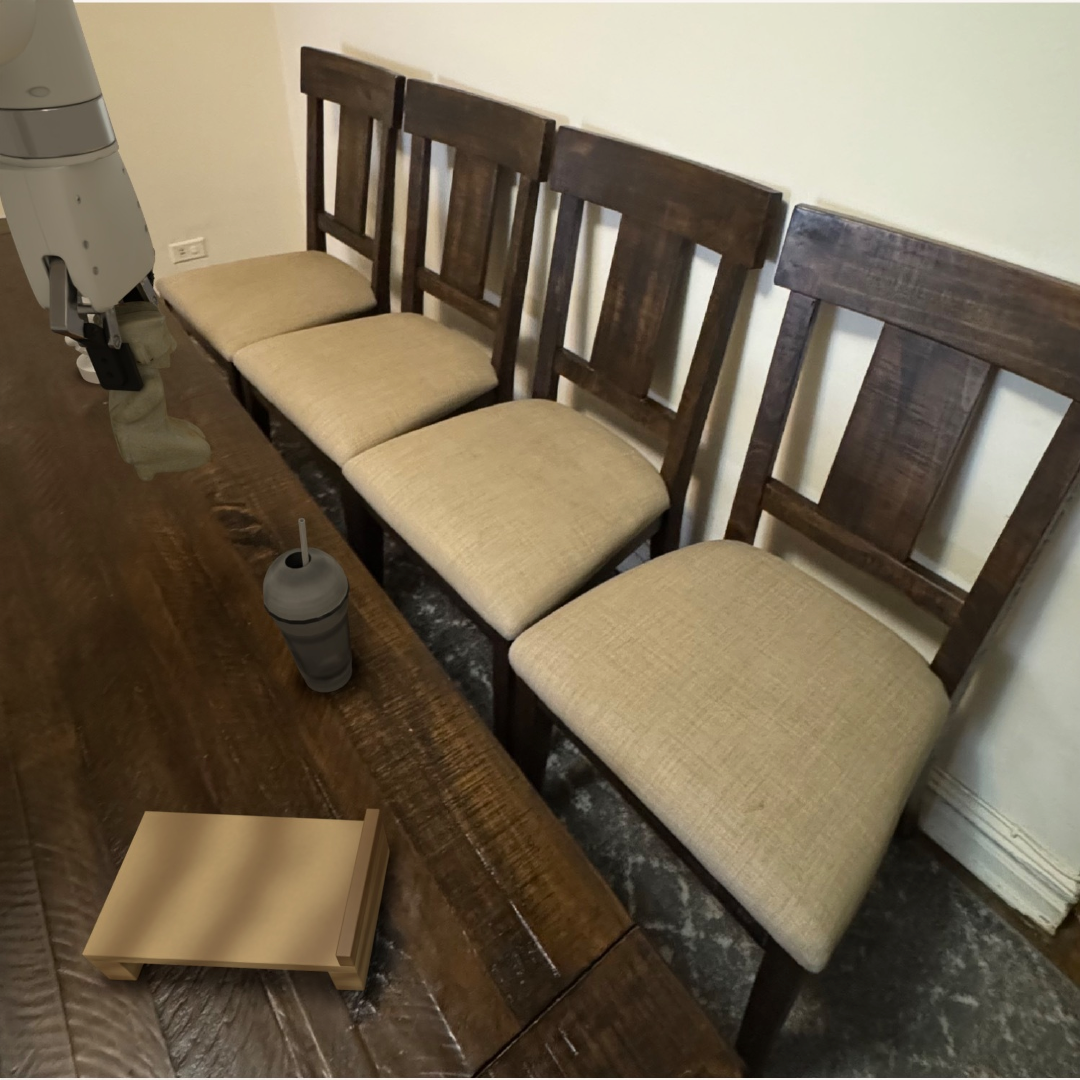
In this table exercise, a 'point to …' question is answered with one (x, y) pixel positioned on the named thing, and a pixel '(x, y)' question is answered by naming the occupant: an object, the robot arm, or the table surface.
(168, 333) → the sculpture
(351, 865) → the shelf
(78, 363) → the character figurine
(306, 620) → the beverage cup
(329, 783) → the table surface
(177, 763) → the table surface
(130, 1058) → the table surface
